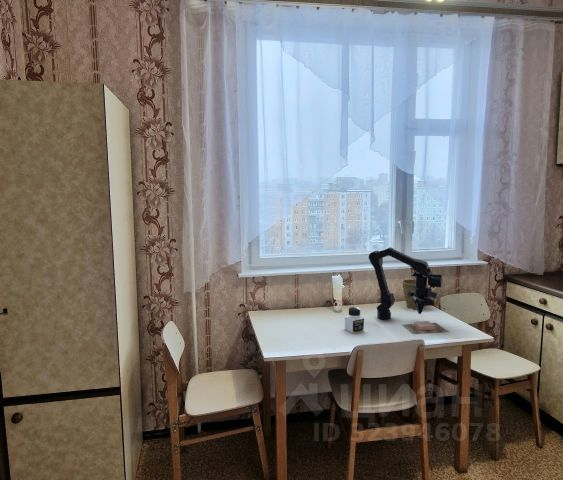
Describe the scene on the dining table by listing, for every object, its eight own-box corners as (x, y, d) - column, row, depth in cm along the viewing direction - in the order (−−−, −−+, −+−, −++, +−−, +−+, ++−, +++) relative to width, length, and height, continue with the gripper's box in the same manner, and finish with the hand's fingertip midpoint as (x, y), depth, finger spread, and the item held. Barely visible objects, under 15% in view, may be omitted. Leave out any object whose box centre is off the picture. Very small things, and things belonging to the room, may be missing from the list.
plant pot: (410, 312, 241) (411, 285, 238) (396, 304, 255) (397, 279, 253) (432, 309, 245) (433, 284, 242) (417, 302, 259) (418, 278, 257)
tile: (413, 326, 214) (420, 330, 207) (414, 322, 213) (420, 326, 207) (428, 325, 215) (434, 329, 208) (428, 321, 215) (435, 325, 208)
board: (412, 336, 202) (412, 334, 202) (400, 326, 216) (400, 324, 216) (449, 334, 205) (450, 331, 205) (435, 324, 219) (435, 322, 219)
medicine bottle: (352, 333, 207) (353, 310, 205) (344, 329, 213) (344, 307, 211) (363, 331, 210) (364, 308, 208) (355, 327, 216) (355, 305, 214)
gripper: (444, 289, 205) (443, 318, 207) (426, 280, 223) (425, 307, 226) (424, 290, 204) (422, 319, 206) (407, 281, 222) (406, 308, 224)
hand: (419, 313), depth 215 cm, fingers closed
